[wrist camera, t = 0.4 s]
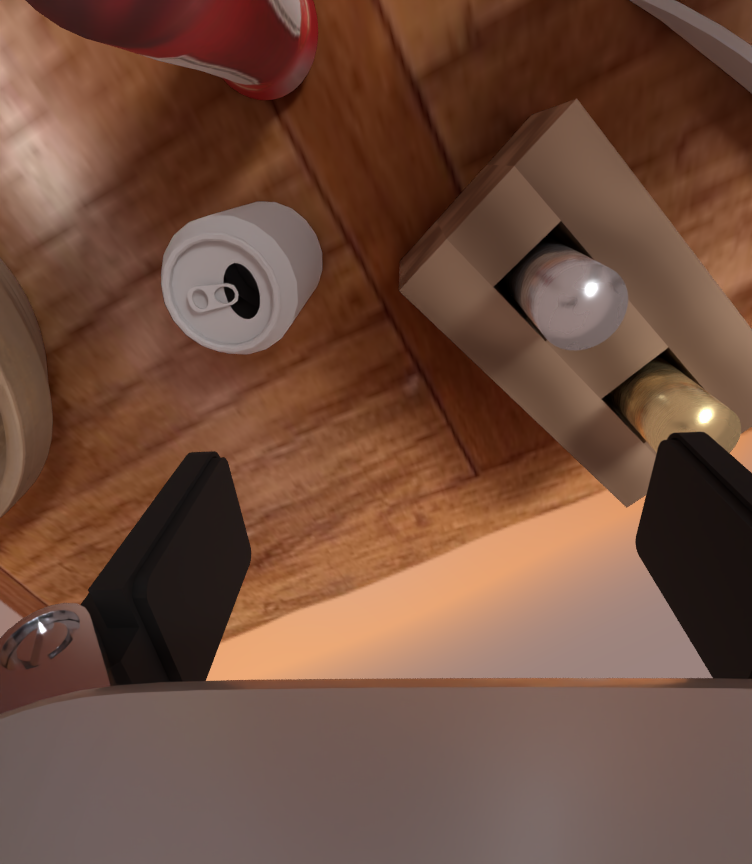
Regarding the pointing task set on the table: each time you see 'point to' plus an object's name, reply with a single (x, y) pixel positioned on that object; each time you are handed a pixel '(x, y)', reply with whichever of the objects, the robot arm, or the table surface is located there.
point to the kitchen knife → (705, 37)
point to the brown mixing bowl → (21, 394)
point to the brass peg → (673, 406)
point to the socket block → (601, 241)
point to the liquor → (205, 36)
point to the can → (241, 276)
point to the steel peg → (568, 295)
